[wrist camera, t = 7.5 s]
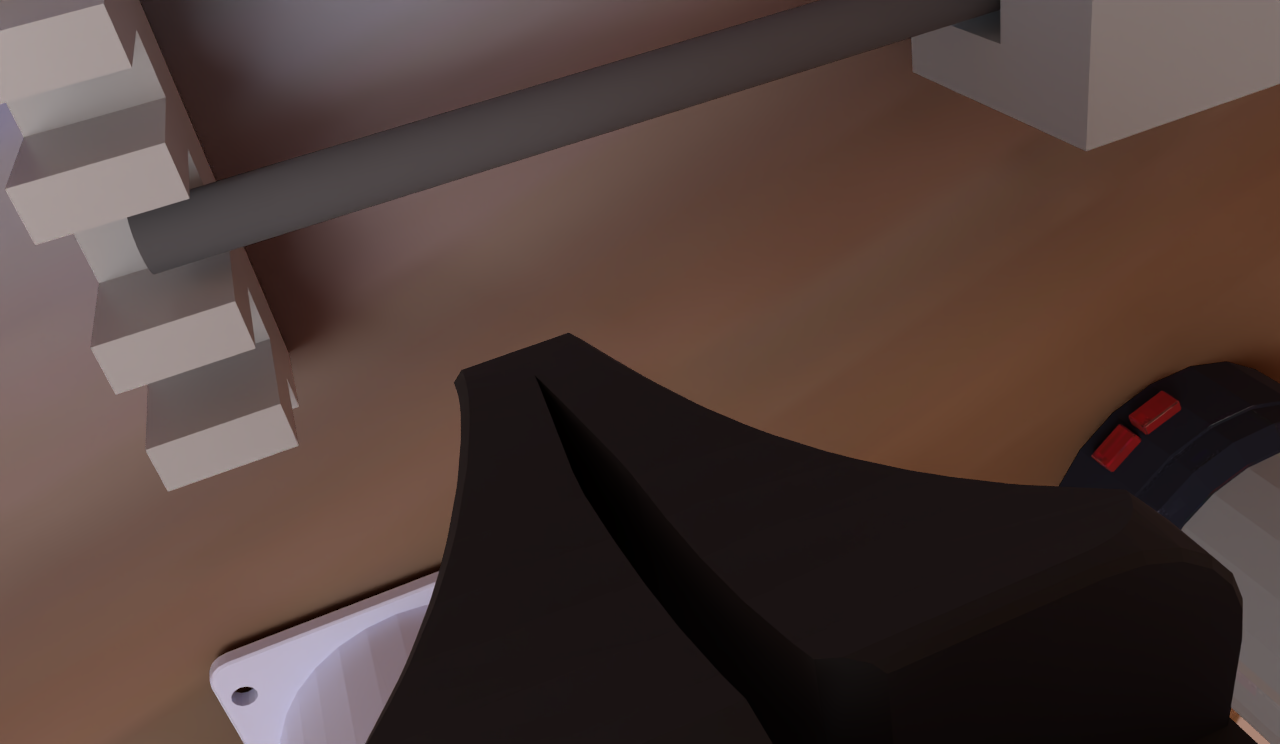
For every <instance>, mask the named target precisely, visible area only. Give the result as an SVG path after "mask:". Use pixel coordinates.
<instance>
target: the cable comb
mask: <svg viewBox="0 0 1280 744" xmlns="http://www.w3.org/2000/svg"><path fill="white" fill-rule="evenodd" d="M2 103H6V104H7V106H8V108H9V109H10V111H11V113H12V115H13V117H14V119H15V121H16V123H17V125H18V127H19V129H20V131H21V133H22V135H23V137H24V138H23V141H22V144H21V147H20V149H19V152H18V155H17V158H16V160H15V163H14V166H13V169H12V171H11V174H10V177H9V179H8V182H7V185H6V188H5V190H6V192H7V194H8V196H9V198H10V199H11V201H12V203H13V205H14V207H15V209H16V211H17V212H18V214H19V216H20V218H21V220H22V222H23V224H24V225H25V227H26V229H27V231H28V233H29V235H30V237H31V238H32V240H33V242H34V244H35V245H37V244H41V243H44V242H47V241H51V240H54V239H57V238H61V237H64V236H67V235H71V234H74V236H75V238H76V240H77V242H78V244H79V246H80V248H81V249H82V251H83V253H84V255H85V257H86V259H87V261H88V263H89V265H90V267H91V269H92V271H93V273H94V275H95V277H96V279H97V281H98V283H99V287H98V294H97V302H96V309H95V317H94V325H93V332H92V340H91V347H90V348H91V350H92V352H93V353H94V355H95V357H96V359H97V361H98V363H99V365H100V366H101V368H102V370H103V372H104V374H105V376H106V378H107V379H108V381H109V383H110V385H111V387H112V389H113V391H114V392H115V394H116V395H117V394H120V393H123V392H126V391H129V390H132V389H135V388H138V387H141V386H144V385H147V384H148V396H147V424H146V452H147V454H148V456H149V457H150V459H151V461H152V463H153V465H154V467H155V469H156V470H157V472H158V474H159V476H160V478H161V480H162V482H163V483H164V485H165V487H166V489H167V491H171V490H174V489H177V488H180V487H183V486H186V485H188V484H191V483H194V482H197V481H200V480H203V479H205V478H208V477H211V476H214V475H217V474H220V473H222V472H225V471H228V470H231V469H234V468H237V467H240V466H242V465H245V464H248V463H251V462H254V461H257V460H259V459H262V458H265V457H268V456H271V455H274V454H276V453H279V452H282V451H285V450H288V449H291V448H294V447H296V446H299V444H298V438H297V433H296V427H295V421H294V416H293V410H292V409H293V408H296V407H299V404H298V399H297V393H296V388H295V383H294V377H293V372H292V367H291V362H290V356H289V353H288V350H287V348H286V346H285V343H284V341H283V338H282V336H281V334H280V331H279V329H278V327H277V324H276V322H275V320H274V317H273V315H272V312H271V310H270V308H269V305H268V303H267V301H266V298H265V296H264V294H263V291H262V289H261V286H260V284H259V282H258V279H257V277H256V275H255V272H254V270H253V268H252V265H251V263H250V261H249V258H248V256H247V253H246V251H245V249H244V247H241V248H237V249H234V250H231V251H228V252H225V253H221V254H218V255H215V256H212V257H209V258H205V259H202V260H199V261H196V262H193V263H189V264H186V265H183V266H180V267H177V268H173V269H170V270H167V271H164V272H161V273H157V274H152V273H151V272H150V270H149V269H148V267H147V266H146V264H145V262H144V261H143V259H142V257H141V255H140V253H139V250H138V248H137V246H136V243H135V241H134V238H133V236H132V233H131V230H130V227H129V223H128V219H127V217H130V216H134V215H137V214H140V213H144V212H147V211H150V210H153V209H157V208H160V207H163V206H167V205H170V204H173V203H177V202H180V201H183V200H187V199H190V193H189V189H193V188H196V187H199V186H203V185H206V184H209V183H213V182H216V180H215V178H214V176H213V173H212V171H211V168H210V166H209V164H208V161H207V159H206V157H205V154H204V152H203V150H202V147H201V145H200V142H199V140H198V138H197V135H196V133H195V131H194V128H193V126H192V124H191V121H190V119H189V117H188V114H187V112H186V109H185V107H184V105H183V102H182V100H181V98H180V95H179V93H178V91H177V88H176V86H175V83H174V81H173V79H172V76H171V74H170V72H169V69H168V67H167V65H166V62H165V60H164V57H163V55H162V53H161V50H160V48H159V46H158V43H157V41H156V39H155V36H154V34H153V32H152V29H151V27H150V24H149V22H148V20H147V17H146V15H145V13H144V10H143V8H142V6H141V3H140V1H139V0H0V104H2Z"/></svg>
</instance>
